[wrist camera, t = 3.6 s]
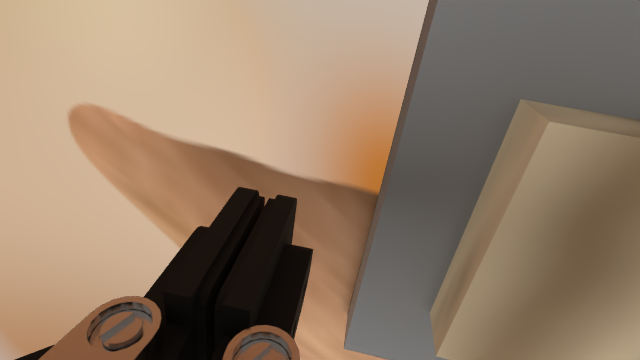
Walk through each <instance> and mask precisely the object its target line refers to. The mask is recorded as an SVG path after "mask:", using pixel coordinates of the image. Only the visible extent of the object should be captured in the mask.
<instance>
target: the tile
mask: <svg viewBox="0 0 640 360" xmlns="http://www.w3.org/2000/svg"><path fill="white" fill-rule="evenodd" d="M430 317H431V324H432V332H433V339H434V346H435V354H436V357H441V358H445V359H449V360H640V120H636V119H630V118H625V117H619V116H613V115H608V114H602V113H597V112H591V111H585V110H580V109H574V108H568V107H563V106H557V105H551V104H546V103H540V102H534V101H529V100H523V99H521V100H520V102H519V105H518V107H517V109H516V112H515V114H514V116H513V119H512V121H511V123H510V126H509V128H508V130H507V133H506V135H505V137H504V140H503V142H502V144H501V147H500V149H499V151H498V154H497V156H496V159H495V161H494V163H493V166H492V168H491V170H490V173H489V175H488V177H487V180H486V182H485V184H484V187H483V189H482V191H481V194H480V196H479V198H478V201H477V203H476V205H475V208H474V210H473V212H472V215H471V217H470V220H469V222H468V224H467V227H466V229H465V231H464V234H463V236H462V238H461V241H460V243H459V245H458V248H457V250H456V252H455V255H454V257H453V259H452V262H451V264H450V266H449V269H448V271H447V273H446V276H445V278H444V280H443V283H442V285H441V288H440V290H439V292H438V295H437V297H436V299H435V302H434V304H433V306H432V309H431V311H430Z"/></svg>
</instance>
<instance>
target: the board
mask: <svg viewBox="0 0 640 360" xmlns="http://www.w3.org/2000/svg"><path fill="white" fill-rule="evenodd" d="M521 99H523V100H529V101H534V102H540V103H546V104H551V105H557V106H563V107H568V108H574V109H580V110H585V111H591V112H597V113H602V114H608V115H613V116H619V117H625V118H630V119H636V120H640V0H429V3H428V7H427V11H426V15H425V19H424V23H423V27H422V30H421V34H420V38H419V42H418V46H417V50H416V54H415V57H414V61H413V65H412V69H411V73H410V77H409V80H408V84H407V88H406V92H405V96H404V100H403V103H402V107H401V111H400V115H399V119H398V123H397V127H396V131H395V134H394V138H393V142H392V146H391V150H390V154H389V157H388V161H387V165H386V169H385V173H384V177H383V181H382V184H381V188H380V192H379V196H378V200H377V204H376V208H375V211H374V215H373V219H372V223H371V227H370V231H369V235H368V238H367V242H366V246H365V250H364V254H363V258H362V262H361V265H360V269H359V273H358V277H357V281H356V285H355V289H354V292H353V296H352V300H351V304H350V308H349V312H348V317H347V325H346V334H345V342H344V349H347V350H351V351H355V352H359V353H363V354H368V355H372V356H376V357H380V358H384V359H389V360H449V359H445V358H441V357H436V354H435V346H434V339H433V332H432V324H431V317H430V311H431V309H432V306H433V304H434V302H435V299H436V297H437V295H438V292H439V290H440V288H441V285H442V283H443V280H444V278H445V276H446V273H447V271H448V269H449V266H450V264H451V262H452V259H453V257H454V255H455V252H456V250H457V248H458V245H459V243H460V241H461V238H462V236H463V234H464V231H465V229H466V227H467V224H468V222H469V220H470V217H471V215H472V212H473V210H474V208H475V205H476V203H477V201H478V198H479V196H480V194H481V191H482V189H483V187H484V184H485V182H486V180H487V177H488V175H489V173H490V170H491V168H492V166H493V163H494V161H495V159H496V156H497V154H498V151H499V149H500V147H501V144H502V142H503V140H504V137H505V135H506V133H507V130H508V128H509V126H510V123H511V121H512V119H513V116H514V114H515V112H516V109H517V107H518V105H519V102H520V100H521Z"/></svg>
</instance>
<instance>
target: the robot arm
mask: <svg viewBox="0 0 640 360" xmlns="http://www.w3.org/2000/svg"><path fill="white" fill-rule="evenodd" d="M264 204H265V198H264V197H261V196H259V192H258V191H257V190H252V189H247V188H242V187H238V188H237V189H236V191H235V192H234V193H233V195H232V196H231V198H230V199H229V200H228V202H227V203H226V205H225V206H224V207H223V209H222V210H221V212H220V213H219V214H218V216H217V217H216V218H215V220H214V221H213V223H212V224H211V225H210V227H204V226H200V227H198V228H197V229H196V230H195V231H194V232H193V233H192V235H191V236H190V237H189V239H188V240H187V241H186V243H185V244H184V245H183V247H182V248H181V249H180V250H179V252H178V253H177V254H176V256H175V257H174V258H173V260H172V261H171V262H170V263H169V265H168V266H167V267H166V269H165V270H164V272H163V273H162V274H161V275H160V277H159V278H158V279H157V280H156V282H155V283H154V284H153V286H152V287H151V288H150V290H149V291H148V292H147V293H146V295H145V296H144V297H139V296H126V297H122V298H117V299H113V300H111V301H109V302H107V303H105V304H102V305H101V306H100V307H98V308H96V309H95V310H94V311H92V312H91V313H90V314H89V315H88V316H86V317H85V318H84V319H83V320H82V321H81V322H80V323H79V324H78V325H76V326H75V327H74V328H73V329H72V330H71V331H70V332H69V333H67V334H66V335H65V336H64V337H63V338H62V339H61V340H60V341H58V342H57V343H56V344H55V345H52V346H50V347H47V348H44V349H42V350H39V351H36V352H34V353H31V354H28V355H26V356H23V357H20V358H18V359H15V360H300V356H299V349H298V347H297V345H296V343H295V341H294V337H295V333H296V329H297V325H298V321H299V317H300V313H301V309H302V305H303V300H304V296H305V292H306V287H307V282H308V277H309V272H310V266H311V260H312V254H313V249H310V248H305V247H300V246H295V245H292V237H293V229H294V221H295V213H296V205H297V198H292V197H287V196H282V195H277V196H276V198H275V199H271V198H269V199H268V201H267V203H266V205H265V207H264Z"/></svg>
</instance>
